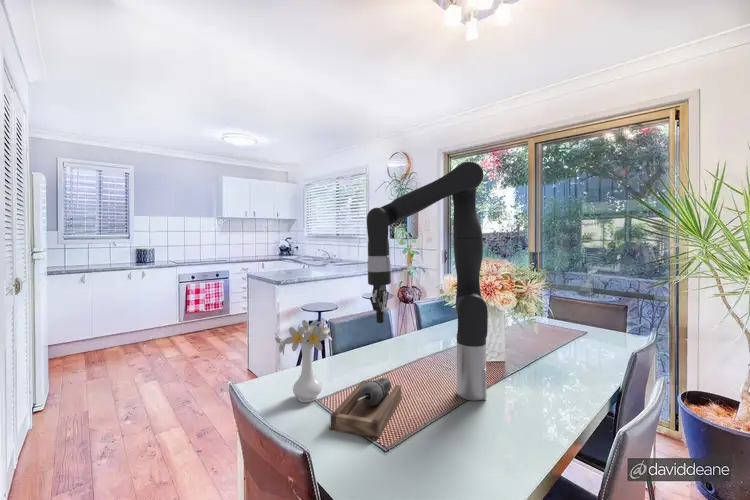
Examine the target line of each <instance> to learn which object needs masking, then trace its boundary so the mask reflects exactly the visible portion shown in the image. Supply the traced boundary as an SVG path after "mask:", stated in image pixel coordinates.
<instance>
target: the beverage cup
mask: <svg viewBox="0 0 750 500" xmlns="http://www.w3.org/2000/svg"><path fill="white" fill-rule="evenodd" d="M391 389H392V382H391V380H390V379H389V378H387V377H382V378H381V377H380V378H377V379H375V380H369V381H368V380H367V382H366V383H365V384H364V386H363V387H362V389H361V398H360V399H358V400H357V401H360V400H363V402H364V403H365V404H367V405H369V406H375V405H378V404H380V403H381V401H382V400H383V398H384V396H385V395H386V394H389V392H390V390H391Z"/></svg>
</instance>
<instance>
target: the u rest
mask: <svg viewBox="0 0 750 500" xmlns="http://www.w3.org/2000/svg"><path fill="white" fill-rule="evenodd" d="M366 382H368V380H362V381H361V382H360V383H359V384H358V385H357V386H356V387H355V388H354V390H352V392H351V393H350V394H348V396H347V397H346V398H345V399H344V400H343V401H342V402H341V403H340V405H339V406H337V408H336V409H335V410H334V411H333V412H332V413H331V414H330V426H329V430H330V431H335V432H338V433H339V432H340V433H346V434H351V435H355V436H362V437H366V436H368V437H367V438H371V437H373V438H372V439H376V438H377V439H378V440H380V437H381V436H382V434H383V432H384V431H385V429H384V428H386V427H387V425H388V423H389V422H390V420H391V418H392V416H393V414H394V413H395V412H396V409H397V408H398V406H399V404H400V402H401V401H402V399H403V395H402V385H401V384H399V385H398V384H395V385H394V388H393V389H392V390H391V392H390V393H387V394H386V395H385V396H384V398H383V400H382V401H381V403H380V404H378V405H375V406H369V405H367V404H365V403H364V402H363V400H360V401H357V400H358V399H360V398H361V389H362V387H363V386H364V384H365V383H366Z"/></svg>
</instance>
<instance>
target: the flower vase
mask: <svg viewBox="0 0 750 500" xmlns="http://www.w3.org/2000/svg"><path fill="white" fill-rule="evenodd" d="M320 321H321V322H320V324H319V326H317V325H318V323H319V322H318V320H314V321H312V322H311V323H310V324H309V322H308V321H307V320H305V319H303V320H302V321H301V323H300V322H299V324H298V326H297V329H295V328H294V327H293V326H290V327H289V328H288V332H289V334H290V336H289V337H286V338H285V339H284V338H283V337H281V336H280V335H279V334H278V333H277V332H274V334H275V336H276V337H274V340H275V342H276V343H278V344H279V345H278V346H279V347H278V351H279V353H280V354H281V353H282V356H285V349H286V345H289V344H292V345H291V351H292V352H295V351H297V349H298V348H299V344H300V347H301V348H300V349H301V357H302V358H301V372H300V375H299V377H298V379H297V380H296V381H295V382H294V384H293V386H292V393H293V395H295V397H296V398H297V400H298V401H299V402H301V403H311V402H314V401H316V400H317V399H318V396H319V395H320V393H321V392H322V390H323V385H322V382H321V381H320V380H319V378H317V376H316V375H315V373H314V369H313V361H312V351H313V347H315V348H316V349H317V350H318V351H322V350H323V344H322V343H321V342H320V341H324V340H326V339H329V341H333V339H332V337H331V336H330V334H329V333H330V330H331V329H330V327H328V326H325V323H324V322H325V321H324V320H323V319H321V320H320ZM301 325H302V326H301Z"/></svg>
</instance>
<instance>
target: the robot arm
mask: <svg viewBox="0 0 750 500" xmlns="http://www.w3.org/2000/svg"><path fill="white" fill-rule="evenodd" d="M483 179H484V169H483V167H482V166H481V165H480V164H479V163H478V162H476V161H471V160H470V161H469V160H468V161H463V162H461V163H460V164H458V165H457V166H456V167H455V168H453V169H452V170H451V171H449V172H447V173H446V174H444V175H443V176H441V177H439V178H438V179H435V180H434V181H432V182H429V183H428V184H425V185H423V186H421V187H418V188H416V189H414V190H411V191H410V192H407V193H405V194H403V195H401V196H398V197H396V198H395V199H393V200H392V201H390V202H389V203H387V204H385V205H383V206H380V207H373V208H372V209H370V210H369V211H368V213H367V215H366V229H367V231H366V232H367V240H368V241H367V265H366V266H367V284H368V285H369V286H372V287H373V288H372V290H371V291H372V292H371V293H372V296H370V297H369V301H370V303H371V306H372V309H373V310H372V311H375V312H376V315H375V317H376V323H377V324H383V323H384V322H385V310H386V308H387V306H388V299H389V294H390V293H389V292H390V291H388V289H387V286H388V285H390V284H392V274H391V273H392V271H391V268H392V267H391V258H390V257H391V255H390V242H389V227H390V226H392V225H393V224H395V223H397V222H399V221H401V220H403V219H407V218H409V217H410V216H413V215H415V214H417V213H419V212H421V211H423V210H425V209H427V208H428V207H429V208H430V206H432V205H433V204H435V203H437V202H439V201H441V200H444V199H446V198H447V197H451V198H452V202H453V219H452V220H453V223H452V225H453V226H452V228H453V229H452V231H453V232H452V235H453V240H452V241H453V255H454V265H455V272H456V296H455V305H454V306H455V310H456V313H457V332H456V395H458V397H459V398H462V399H464V400H468V401H473V402H474V401H476V402H477V401H482V400H483V401H487V337H488V324H489V323H488V317H489V313H488V312H489V311H488V305H487V302H486V301H485V300H484V299H483V298H482V293H481V285H480V284H481V282H480V274H481V268H482V261H483V254H484V242H483V241H484V240H483V231H482V230H483V229H482V225H481V221H480V218H479V215H478V210H477V206H476V205H477V202H476V201H477V200H476V198H477V197H476V195H477V188H478V187H479V186H480V185H481V184H482V182H483Z"/></svg>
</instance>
